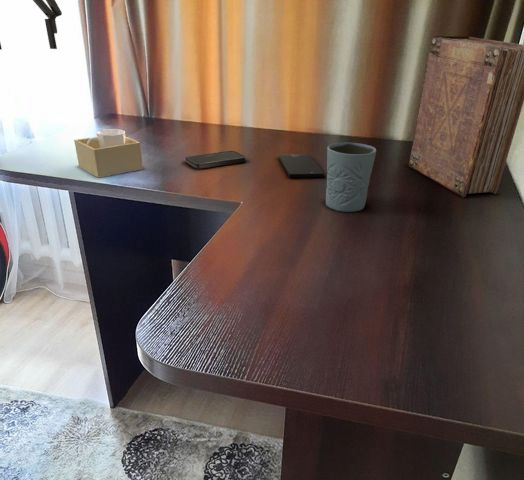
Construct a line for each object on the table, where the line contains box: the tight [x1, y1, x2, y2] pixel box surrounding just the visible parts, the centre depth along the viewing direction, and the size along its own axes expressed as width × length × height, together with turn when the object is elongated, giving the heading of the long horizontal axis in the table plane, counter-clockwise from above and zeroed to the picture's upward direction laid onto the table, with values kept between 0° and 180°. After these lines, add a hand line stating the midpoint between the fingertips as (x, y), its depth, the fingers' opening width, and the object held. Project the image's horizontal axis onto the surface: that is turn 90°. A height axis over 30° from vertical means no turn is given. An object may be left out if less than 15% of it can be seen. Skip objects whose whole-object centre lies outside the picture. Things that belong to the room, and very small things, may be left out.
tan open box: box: [73, 135, 144, 178], centre depth 127 cm, size 12×11×6 cm
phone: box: [185, 150, 247, 169], centre depth 135 cm, size 8×1×15 cm
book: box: [408, 35, 524, 198], centre depth 119 cm, size 25×9×30 cm, turn 16°
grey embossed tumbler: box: [325, 142, 377, 213], centre depth 108 cm, size 10×10×12 cm
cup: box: [87, 128, 126, 148], centre depth 126 cm, size 7×10×8 cm
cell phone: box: [278, 153, 325, 179], centre depth 133 cm, size 9×18×1 cm, turn 7°
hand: (26, 49), depth 127 cm, fingers open, 13 cm apart
